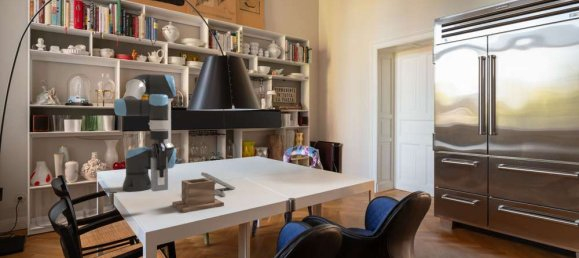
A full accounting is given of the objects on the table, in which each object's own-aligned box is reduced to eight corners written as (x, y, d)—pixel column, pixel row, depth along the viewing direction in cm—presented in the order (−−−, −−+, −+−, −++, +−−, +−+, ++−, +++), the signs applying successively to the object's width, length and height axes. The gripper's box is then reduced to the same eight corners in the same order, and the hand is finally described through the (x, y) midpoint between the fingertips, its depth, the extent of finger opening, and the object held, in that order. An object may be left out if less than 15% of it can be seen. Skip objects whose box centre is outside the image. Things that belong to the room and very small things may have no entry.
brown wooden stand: (172, 205, 151) (172, 180, 151) (210, 199, 163) (210, 176, 162) (183, 212, 139) (183, 186, 139) (223, 205, 151) (224, 181, 150)
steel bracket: (151, 189, 141) (150, 157, 141) (165, 187, 145) (165, 156, 144) (153, 191, 138) (153, 159, 137) (167, 189, 142) (167, 157, 141)
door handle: (223, 198, 187) (195, 185, 175) (229, 185, 189) (201, 171, 177) (240, 204, 174) (211, 190, 162) (246, 190, 176) (218, 175, 164)
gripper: (144, 129, 145) (145, 181, 146) (155, 131, 131) (155, 188, 132) (162, 128, 149) (162, 179, 151) (174, 131, 136) (174, 186, 137)
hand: (159, 183), depth 141 cm, fingers closed on steel bracket, 4 cm apart
